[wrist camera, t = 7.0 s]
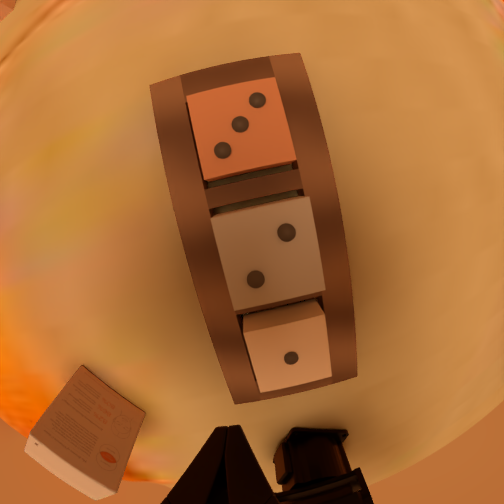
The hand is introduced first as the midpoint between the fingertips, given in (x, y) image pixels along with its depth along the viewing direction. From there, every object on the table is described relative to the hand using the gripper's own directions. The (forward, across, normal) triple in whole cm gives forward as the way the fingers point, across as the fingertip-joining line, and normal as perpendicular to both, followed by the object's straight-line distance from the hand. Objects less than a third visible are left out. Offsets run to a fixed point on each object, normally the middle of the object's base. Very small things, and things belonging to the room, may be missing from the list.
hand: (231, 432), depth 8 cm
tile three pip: (+11, -2, -11) cm, 16 cm away
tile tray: (+12, -3, -4) cm, 13 cm away
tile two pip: (+10, -3, -4) cm, 11 cm away
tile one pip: (+11, -3, +3) cm, 12 cm away
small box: (+12, +16, +9) cm, 22 cm away
